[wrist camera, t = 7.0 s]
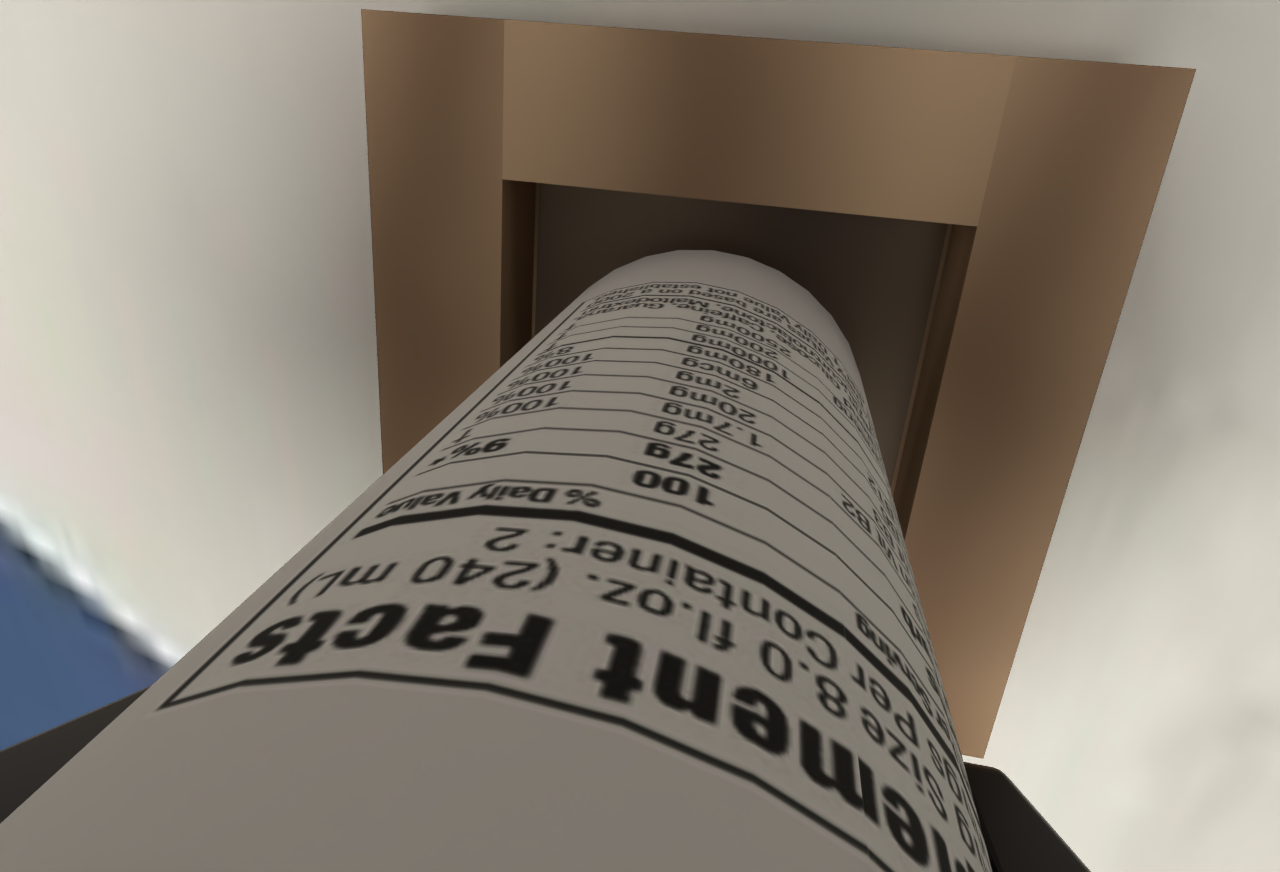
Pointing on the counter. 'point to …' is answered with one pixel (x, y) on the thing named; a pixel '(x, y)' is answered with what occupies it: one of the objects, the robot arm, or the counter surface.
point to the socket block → (789, 247)
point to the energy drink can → (569, 634)
